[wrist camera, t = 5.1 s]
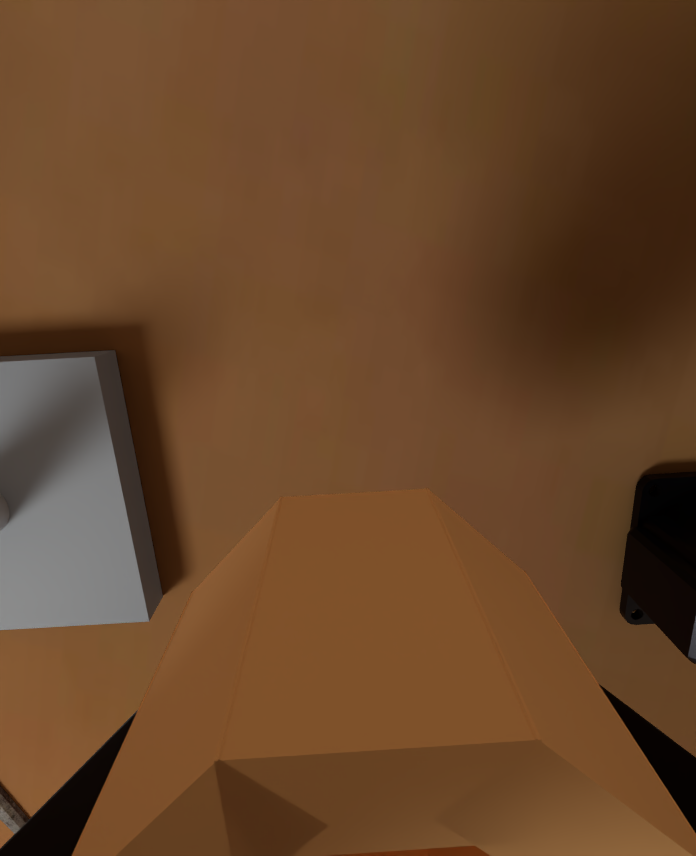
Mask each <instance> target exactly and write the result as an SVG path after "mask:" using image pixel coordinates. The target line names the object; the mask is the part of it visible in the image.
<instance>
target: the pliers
mask: <svg viewBox="0 0 696 856" xmlns="http://www.w3.org/2000/svg"><path fill="white" fill-rule="evenodd" d="M0 820H1V821H3V822H4V823H5V824H6V826H7V827H8V828H9V829H10V830H11V831H12V832H13V833H14V834H15V833H16V832H17V831H18V830H19V829H20V828H21V827H22V826H23V825H24V824H25V823H26V822H27V821H28V820H29V819H28V817H27V816H26V815H25V814H24V813H23V812H22V810H21V809H20V808H19V807H18V806H17V805H16V803H15V802H14V801H13V800H12V799H11V798H10V796H9V795H8V794H7V793H6V792H5V791H4V789H3V788H2V787H1V786H0Z"/></svg>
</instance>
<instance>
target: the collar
mask: <svg viewBox="0 0 696 856" xmlns="http://www.w3.org/2000/svg"><path fill="white" fill-rule="evenodd" d="M72 856H696V833H695V832H694V830H693V828H692V827H691V825H690V824H689V822H688V821H687V819H686V818H685V816H684V815H683V813H682V812H681V810H680V809H679V807H678V805H677V804H676V802H675V801H674V799H673V798H672V796H671V795H670V793H669V792H668V790H667V789H666V787H665V785H664V784H663V782H662V781H661V779H660V778H659V776H658V775H657V773H656V772H655V770H654V769H653V767H652V766H651V764H650V762H649V761H648V759H647V758H646V756H645V755H644V753H643V752H642V750H641V749H640V747H639V746H638V744H637V742H636V741H635V739H634V738H633V736H632V735H631V733H630V732H629V730H628V729H627V727H626V726H625V724H624V723H623V721H622V719H621V718H620V716H619V715H618V713H617V712H616V710H615V709H614V707H613V706H612V704H611V703H610V701H609V699H608V698H607V696H606V695H605V693H604V692H603V690H602V689H601V687H600V686H599V684H598V683H597V681H596V679H595V678H594V676H593V675H592V673H591V672H590V670H589V669H588V667H587V666H586V664H585V663H584V661H583V660H582V658H581V656H580V655H579V653H578V652H577V650H576V649H575V647H574V646H573V644H572V643H571V641H570V640H569V638H568V636H567V635H566V633H565V632H564V630H563V629H562V627H561V626H560V624H559V623H558V621H557V620H556V618H555V617H554V615H553V613H552V612H551V610H550V609H549V607H548V606H547V604H546V603H545V601H544V600H543V598H542V597H541V595H540V593H539V592H538V590H537V589H536V587H535V586H534V584H533V583H532V581H531V580H530V578H529V577H528V575H527V573H526V572H525V571H523V570H522V569H521V568H520V567H518V566H517V565H516V564H515V563H514V562H513V561H511V560H510V559H509V558H508V557H507V556H506V555H504V554H503V553H502V552H501V551H500V550H499V549H497V548H496V547H495V546H494V545H493V544H492V543H490V542H489V541H488V540H487V539H486V538H485V537H483V536H482V535H481V534H480V533H479V532H478V531H476V530H475V529H474V528H473V527H472V526H471V525H469V524H468V523H467V522H466V521H465V520H464V519H462V518H461V517H460V516H459V515H458V514H457V513H455V512H454V511H453V510H452V509H451V508H450V507H448V506H447V505H446V504H445V503H444V502H443V501H441V500H440V499H439V498H438V497H437V496H436V495H434V494H433V493H432V492H431V491H430V490H429V488H426V489H409V490H393V491H376V492H359V493H342V494H325V495H308V496H291V497H280V498H279V500H278V501H277V502H276V503H275V504H274V505H273V506H272V507H271V508H270V510H269V511H268V512H267V513H266V514H265V515H264V516H263V517H262V518H261V519H260V520H259V521H258V522H257V523H256V525H255V526H254V527H253V528H252V529H251V530H250V531H249V532H248V533H247V534H246V535H245V536H244V537H243V538H242V540H241V541H240V542H239V543H238V544H237V545H236V546H235V547H234V548H233V549H232V550H231V551H230V552H229V553H228V555H227V556H226V557H225V558H224V559H223V560H222V561H221V562H220V563H219V564H218V565H217V566H216V567H215V568H214V569H213V571H212V572H211V573H210V574H209V575H208V576H207V577H206V578H205V579H204V580H203V581H202V582H201V583H200V584H199V586H198V587H197V588H196V589H195V590H194V591H192V592H191V595H190V597H189V599H188V601H187V603H186V606H185V608H184V610H183V612H182V614H181V617H180V619H179V621H178V623H177V625H176V628H175V630H174V632H173V634H172V636H171V639H170V641H169V643H168V645H167V647H166V650H165V652H164V654H163V656H162V658H161V661H160V663H159V665H158V667H157V669H156V672H155V674H154V676H153V678H152V680H151V683H150V685H149V687H148V689H147V691H146V694H145V696H144V698H143V700H142V702H141V705H140V707H139V709H138V711H137V713H136V715H135V718H134V720H133V722H132V724H131V726H130V729H129V731H128V733H127V735H126V737H125V740H124V742H123V744H122V746H121V748H120V751H119V753H118V755H117V757H116V759H115V762H114V764H113V766H112V768H111V770H110V773H109V775H108V777H107V779H106V781H105V784H104V786H103V788H102V790H101V792H100V795H99V797H98V799H97V801H96V803H95V806H94V808H93V810H92V812H91V814H90V817H89V819H88V821H87V823H86V825H85V828H84V830H83V832H82V834H81V836H80V838H79V841H78V843H77V845H76V847H75V849H74V852H73V854H72Z"/></svg>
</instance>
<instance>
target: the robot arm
mask: <svg viewBox="0 0 696 856" xmlns="http://www.w3.org/2000/svg"><path fill="white" fill-rule="evenodd" d="M653 485H656V487H655V489H654V490H653V491H652V492H649V489H650V488H651V487H652V486H653ZM621 587H622V595H621V602H620V613H621V615H622V616H623V617H624V619H625V620H626V621H627V622H628V623H630V624H634V625H639V624H656V625H657V626H658V627H659V628H660V629H661V630H662V632H663V633H664V634H665V635H666V636H667V637H668V638H669V639H670V640H671V641H672V642H673V643H674V645H675V646H676V647H677V648H678V649H679V650H680V651H681V652H682V653H683V654H684V655H685V656H686V657H687V658H688V659H689V660H690V661H691V662H693V663H694V664H696V472H685V473H668V474H651V475H646V476H644V477H643V478H641V479H640V480H639V481H638V483H637V486H636V490H635V498H634V505H633V513H632V520H631V527H630V531H629V532H628V534H627V542H626V550H625V557H624V565H623V572H622V580H621ZM634 610H636V611H635V612H634V613H632V612H633V611H634ZM599 686H600V687H601V689H602V690H603V692H604V693H605V695H606V696H607V698H608V699H609V701H610V703H611V704H612V706H613V707H614V709H615V710H616V712H617V713H618V715H619V716H620V718H621V719H622V721H623V723H624V724H625V726H626V727H627V729H628V730H629V732H630V733H631V735H632V736H633V738H634V739H635V741H636V742H637V744H638V746H639V747H640V749H641V750H642V752H643V753H644V755H645V756H646V758H647V759H648V761H649V762H650V764H651V766H652V767H653V769H654V770H655V772H656V773H657V775H658V776H659V778H660V779H661V781H662V782H663V784H664V785H665V787H666V789H667V790H668V792H669V793H670V795H671V796H672V798H673V799H674V801H675V802H676V804H677V805H678V807H679V809H680V810H681V812H682V813H683V815H684V816H685V818H686V819H687V821H688V822H689V824H690V825H691V827H692V828H693V830H694V832H695V833H696V758H695V757H694V756H693V755H692V754H690V753H689V752H688V751H686V750H685V749H684V748H682V747H681V746H680V745H678V744H677V743H676V742H674V741H673V740H672V739H670V738H669V737H668V736H666V735H665V734H664V733H663V732H661V731H660V730H659V729H657V728H656V727H655V726H653V725H652V724H651V723H649V722H648V721H647V720H645V719H644V718H643V717H641V716H640V715H639V714H638V713H636V712H635V711H634V710H632V709H631V708H630V707H628V706H627V705H626V704H624V703H623V702H622V701H620V700H619V699H618V698H616V697H615V696H614V695H613V694H611V693H610V692H609V691H607V690H606V689H605V688H603V687H602V686H601V685H599ZM137 711H138V710H137ZM137 711H136V712H135V713H134V714H133V715H132V716H131V717H130V718H129V719H128V720H127V721H126V722H125V723H124V724H123V725H122V726H121V727H120V728H119V729H118V730H117V731H116V732H115V733H114V734H113V735H112V737H111V738H110V739H109V740H108V741H107V742H106V743H105V744H104V745H103V746H102V747H101V748H100V749H99V750H98V751H97V752H96V753H95V754H94V755H93V756H92V757H91V758H90V759H89V760H88V761H87V762H86V763H85V764H84V765H83V766H82V767H81V768H80V769H79V770H78V771H77V772H76V773H75V774H74V775H73V776H72V777H71V778H70V779H69V780H68V781H67V782H66V783H65V784H64V785H63V786H62V787H61V788H60V789H59V790H58V791H57V792H56V793H55V794H54V795H53V796H52V797H51V798H50V799H49V800H48V801H47V802H46V803H45V804H44V805H43V806H42V807H41V808H40V809H39V810H38V811H37V812H36V813H35V814H34V815H33V816H32V817H31V818H30V819H29V820H28V821H27V822H26V823H25V824H24V825H23V826H22V827H21V828H20V829H19V830H18V831H17V832H16V833H15V834H14V835H13V836H12V837H11V838H10V839H9V840H8V841H7V842H6V843H5V844H4V845H3V846H2V847H1V848H0V856H72V854H73V852H74V849H75V847H76V845H77V843H78V841H79V838H80V836H81V834H82V832H83V830H84V828H85V825H86V823H87V821H88V819H89V817H90V814H91V812H92V810H93V808H94V806H95V803H96V801H97V799H98V797H99V795H100V792H101V790H102V788H103V786H104V784H105V781H106V779H107V777H108V775H109V773H110V770H111V768H112V766H113V764H114V762H115V759H116V757H117V755H118V753H119V751H120V748H121V746H122V744H123V742H124V740H125V737H126V735H127V733H128V731H129V729H130V726H131V724H132V722H133V720H134V718H135V715H136V713H137Z"/></svg>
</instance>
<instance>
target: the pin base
mask: <svg viewBox="0 0 696 856" xmlns="http://www.w3.org/2000/svg"><path fill="white" fill-rule="evenodd" d="M162 597H163V595H162V589H161V584H160V579H159V574H158V569H157V564H156V558H155V553H154V548H153V543H152V538H151V533H150V528H149V522H148V517H147V512H146V507H145V502H144V497H143V491H142V486H141V481H140V476H139V471H138V466H137V461H136V455H135V450H134V445H133V440H132V435H131V430H130V424H129V419H128V414H127V409H126V404H125V399H124V394H123V388H122V383H121V378H120V373H119V368H118V363H117V357H116V352H115V350H108V351H90V352H72V353H54V354H36V355H18V356H0V630H10V629H27V628H44V627H61V626H78V625H95V624H112V623H129V622H146V621H150V619H151V617H152V615H153V613H154V612H155V610H156V608H157V606H158V604H159V603H160V601H161V599H162Z"/></svg>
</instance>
